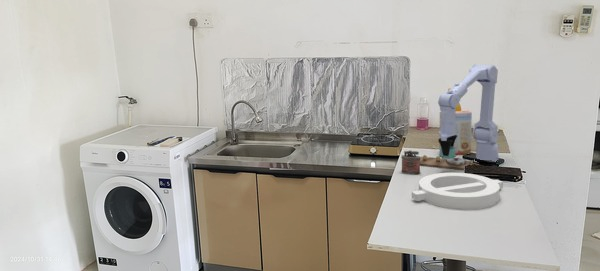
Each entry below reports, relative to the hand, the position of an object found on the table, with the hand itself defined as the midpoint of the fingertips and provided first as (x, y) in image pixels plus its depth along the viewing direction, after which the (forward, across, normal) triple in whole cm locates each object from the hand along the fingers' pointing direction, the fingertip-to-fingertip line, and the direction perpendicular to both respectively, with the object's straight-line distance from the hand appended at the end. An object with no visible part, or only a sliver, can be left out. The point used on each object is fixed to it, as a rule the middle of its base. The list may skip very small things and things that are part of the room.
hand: (447, 153), depth 196 cm
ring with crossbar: (+9, +26, +10) cm, 29 cm away
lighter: (+9, +6, -14) cm, 17 cm away
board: (+8, -12, -5) cm, 15 cm away
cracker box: (+9, -32, -4) cm, 33 cm away
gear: (+1, 0, 0) cm, 1 cm away
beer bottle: (+9, -56, -11) cm, 58 cm away
